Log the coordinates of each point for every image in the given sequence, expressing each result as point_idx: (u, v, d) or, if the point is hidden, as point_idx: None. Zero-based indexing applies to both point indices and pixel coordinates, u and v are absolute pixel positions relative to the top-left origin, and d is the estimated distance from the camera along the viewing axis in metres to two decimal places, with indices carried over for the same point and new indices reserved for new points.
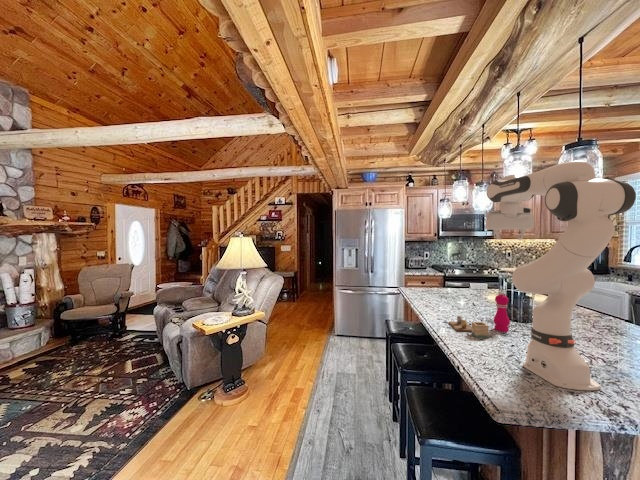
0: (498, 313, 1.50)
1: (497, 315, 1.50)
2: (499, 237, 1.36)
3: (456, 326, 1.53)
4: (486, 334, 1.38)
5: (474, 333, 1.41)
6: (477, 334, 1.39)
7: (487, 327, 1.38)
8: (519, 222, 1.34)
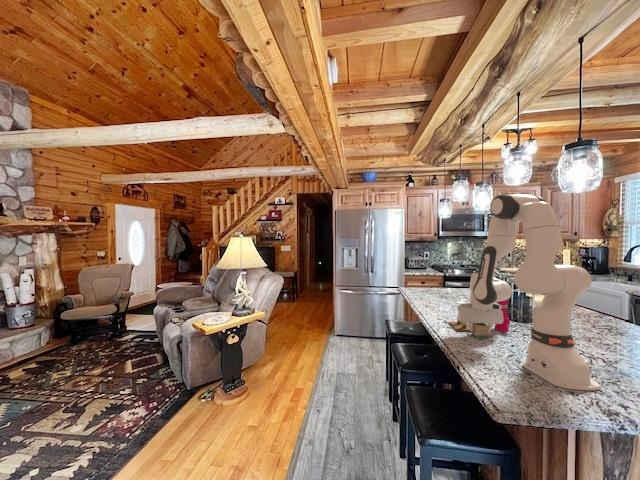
0: None
1: None
2: (473, 330, 1.41)
3: (456, 326, 1.53)
4: (486, 334, 1.38)
5: (474, 333, 1.41)
6: (477, 334, 1.39)
7: (487, 327, 1.38)
8: (489, 317, 1.39)
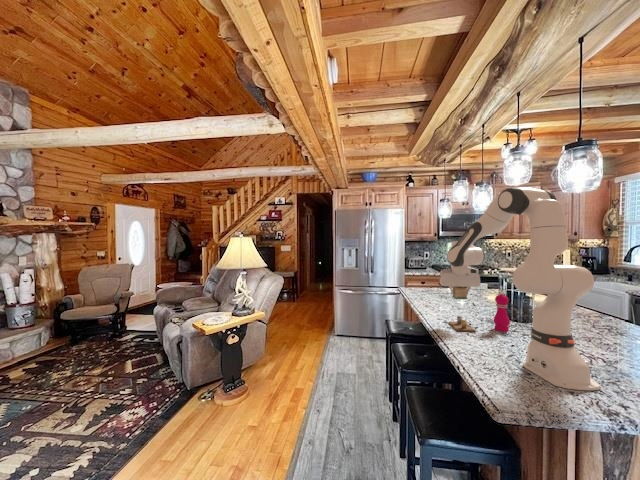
0: (498, 313, 1.50)
1: (497, 315, 1.50)
2: (453, 293, 1.57)
3: (456, 326, 1.53)
4: (465, 296, 1.54)
5: (454, 295, 1.57)
6: (457, 296, 1.55)
7: (465, 289, 1.54)
8: (467, 281, 1.55)
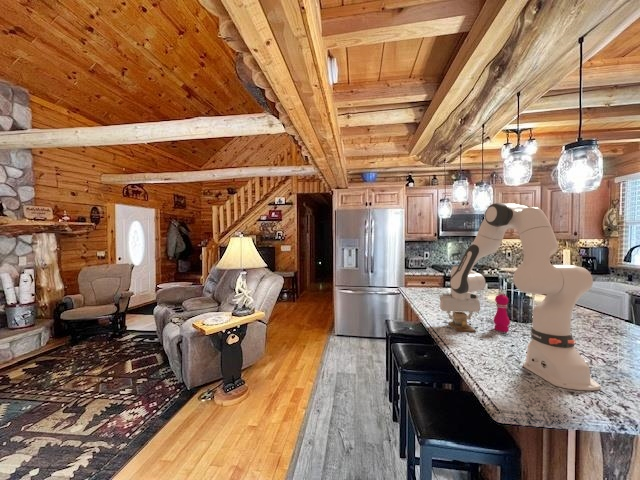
0: (498, 313, 1.50)
1: (497, 315, 1.50)
2: (450, 317, 1.57)
3: (456, 326, 1.53)
4: None
5: (454, 321, 1.57)
6: (457, 322, 1.55)
7: (465, 315, 1.54)
8: (467, 306, 1.55)
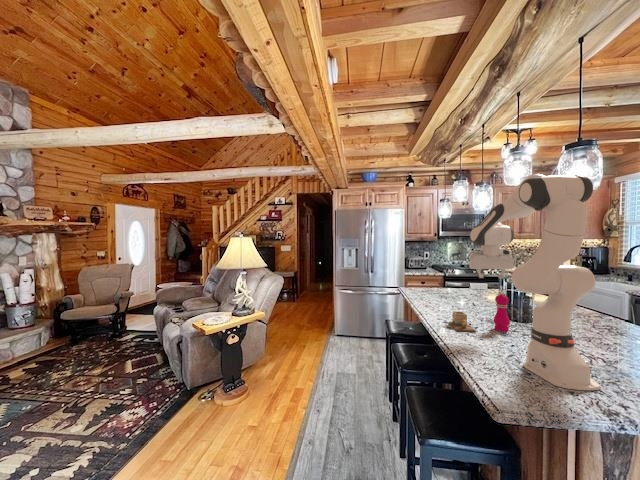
0: (498, 313, 1.50)
1: (497, 315, 1.50)
2: (481, 276, 1.47)
3: (456, 326, 1.53)
4: None
5: (454, 321, 1.57)
6: (457, 322, 1.55)
7: (465, 315, 1.54)
8: (499, 263, 1.45)
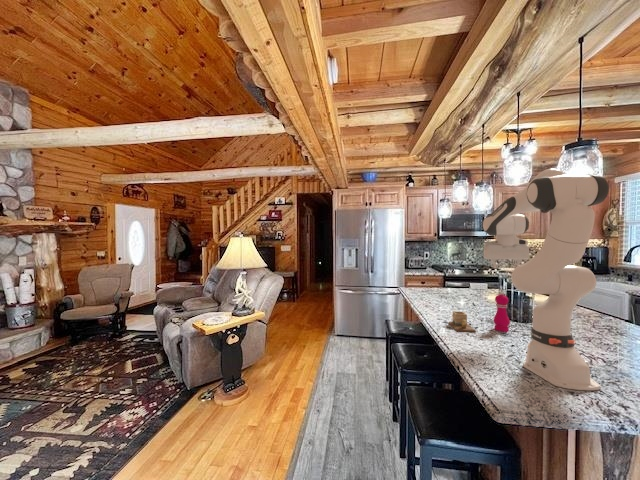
0: (498, 313, 1.50)
1: (497, 315, 1.50)
2: (496, 266, 1.44)
3: (456, 326, 1.53)
4: None
5: (454, 321, 1.57)
6: (457, 322, 1.55)
7: (465, 315, 1.54)
8: (515, 253, 1.41)
